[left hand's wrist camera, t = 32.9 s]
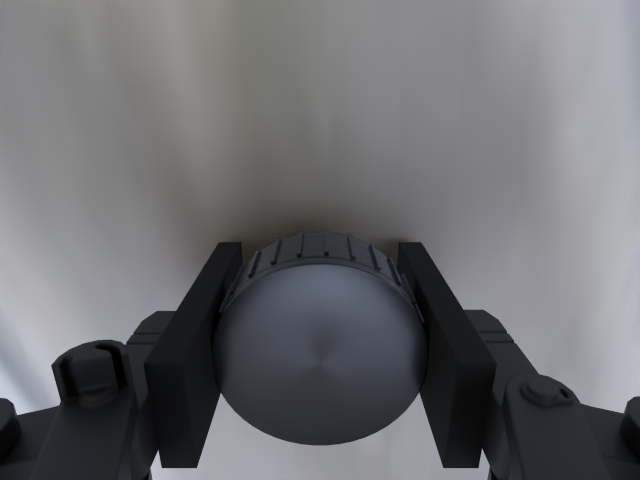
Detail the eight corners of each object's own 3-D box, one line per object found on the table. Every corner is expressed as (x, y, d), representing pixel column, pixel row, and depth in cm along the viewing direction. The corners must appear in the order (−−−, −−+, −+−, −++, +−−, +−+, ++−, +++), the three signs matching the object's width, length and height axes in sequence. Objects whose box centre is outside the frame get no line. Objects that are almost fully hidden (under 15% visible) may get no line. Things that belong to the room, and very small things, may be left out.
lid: (426, 233, 11) (449, 266, 9) (401, 396, 13) (415, 452, 11) (224, 222, 11) (202, 253, 9) (228, 388, 13) (211, 443, 11)
